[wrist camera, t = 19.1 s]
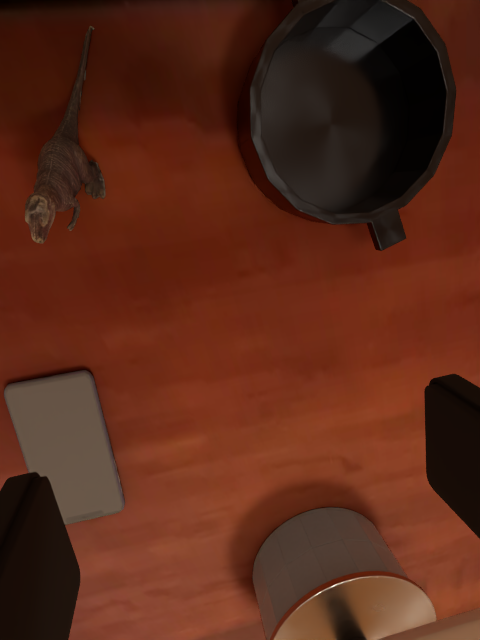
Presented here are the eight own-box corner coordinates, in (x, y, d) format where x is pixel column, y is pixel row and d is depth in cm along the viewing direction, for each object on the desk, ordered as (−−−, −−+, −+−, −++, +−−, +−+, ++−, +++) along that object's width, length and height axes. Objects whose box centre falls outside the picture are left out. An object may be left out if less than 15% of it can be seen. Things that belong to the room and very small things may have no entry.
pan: (291, 276, 39) (311, 288, 33) (189, 30, 32) (194, -4, 27) (441, 203, 39) (484, 203, 34) (371, -54, 32) (411, -103, 27)
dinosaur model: (9, 242, 23) (1, -81, 20) (52, 237, 34) (51, 30, 31) (87, 248, 24) (91, -60, 21) (104, 240, 35) (108, 40, 32)
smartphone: (90, 370, 37) (126, 512, 41) (92, 366, 38) (127, 505, 42) (-1, 387, 36) (46, 531, 40) (3, 382, 37) (48, 523, 41)
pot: (263, 633, 50) (283, 722, 41) (242, 528, 45) (260, 604, 37) (385, 596, 52) (429, 674, 43) (377, 491, 47) (425, 556, 39)
